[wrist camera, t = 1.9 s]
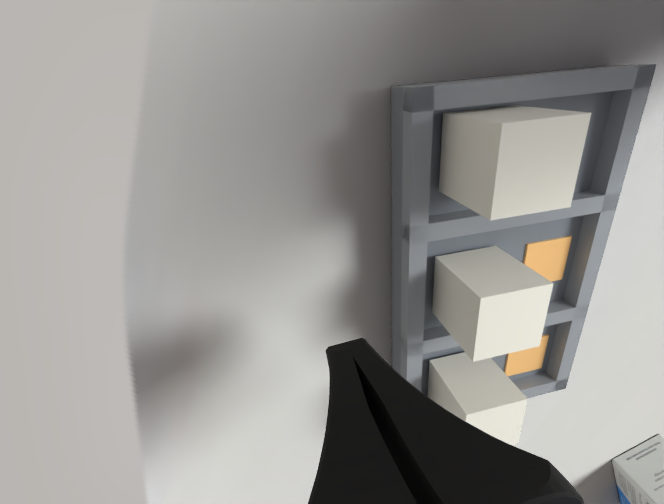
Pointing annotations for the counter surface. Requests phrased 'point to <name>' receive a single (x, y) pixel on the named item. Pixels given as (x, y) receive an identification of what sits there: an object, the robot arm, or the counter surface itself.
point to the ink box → (641, 473)
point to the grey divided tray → (514, 232)
